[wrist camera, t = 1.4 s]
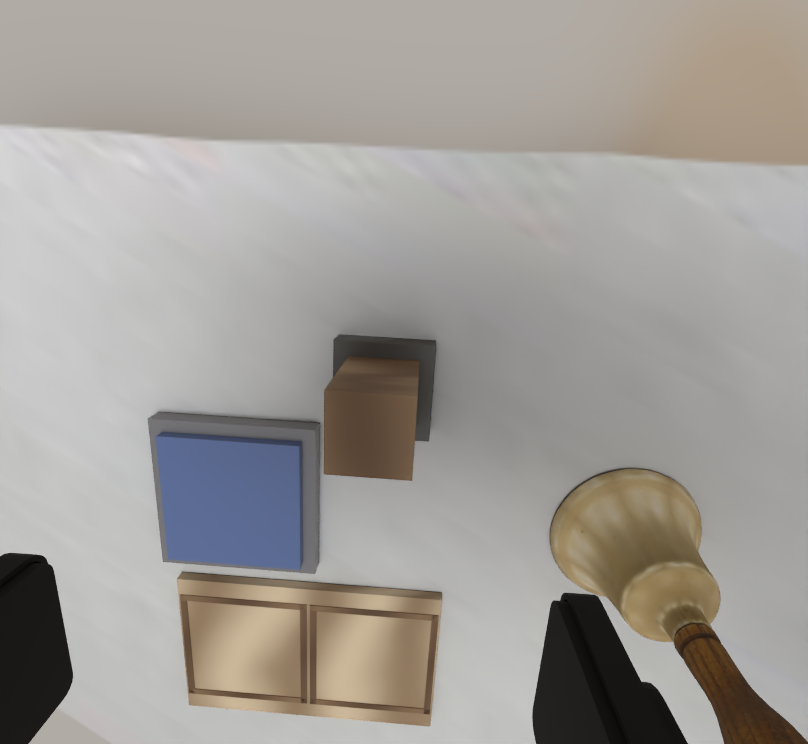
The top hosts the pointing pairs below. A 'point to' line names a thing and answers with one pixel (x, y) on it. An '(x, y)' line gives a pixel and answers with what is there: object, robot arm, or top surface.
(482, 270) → the top surface
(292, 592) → the board
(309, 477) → the ink pad
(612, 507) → the hand bell
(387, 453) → the stamp
